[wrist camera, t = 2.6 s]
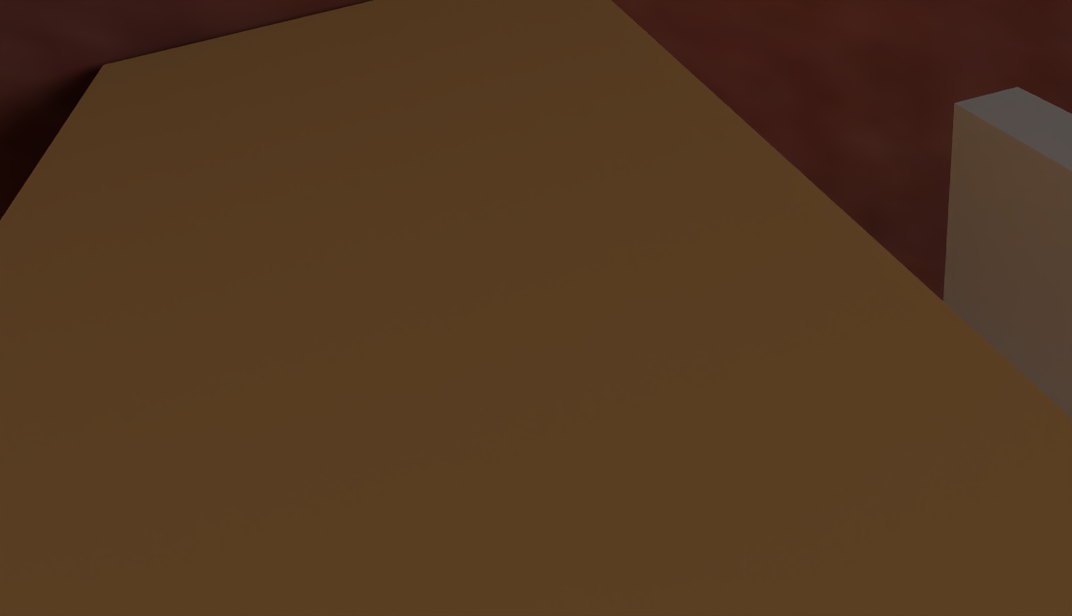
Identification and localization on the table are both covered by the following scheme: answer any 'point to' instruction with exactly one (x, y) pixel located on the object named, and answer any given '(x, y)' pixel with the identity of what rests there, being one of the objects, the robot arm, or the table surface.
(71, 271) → the orange connector module
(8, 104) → the table surface
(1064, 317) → the robot arm
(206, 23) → the table surface
